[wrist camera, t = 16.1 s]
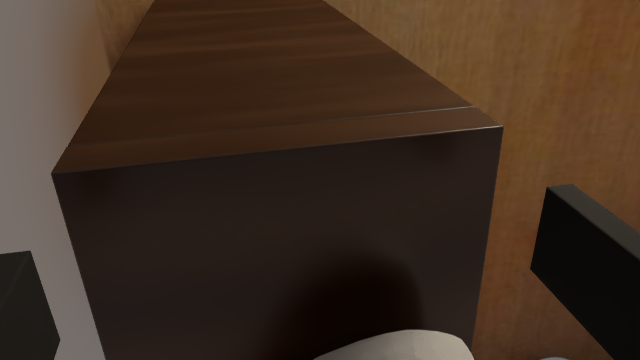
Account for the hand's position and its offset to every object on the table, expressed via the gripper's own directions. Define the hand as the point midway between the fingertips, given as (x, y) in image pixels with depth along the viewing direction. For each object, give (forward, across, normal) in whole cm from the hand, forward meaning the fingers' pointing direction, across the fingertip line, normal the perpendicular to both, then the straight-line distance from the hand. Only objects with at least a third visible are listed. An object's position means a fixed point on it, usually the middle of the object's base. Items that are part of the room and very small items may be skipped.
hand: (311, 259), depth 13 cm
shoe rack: (+40, 0, -14) cm, 42 cm away
